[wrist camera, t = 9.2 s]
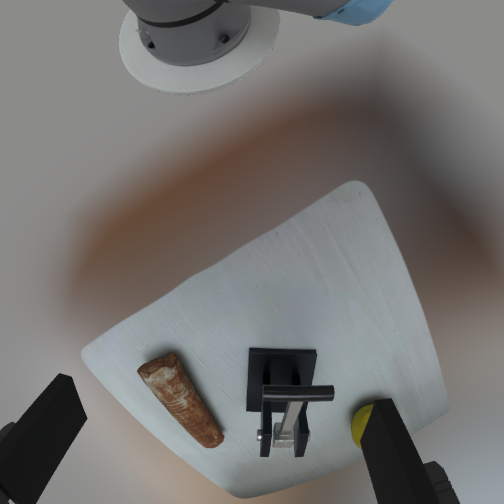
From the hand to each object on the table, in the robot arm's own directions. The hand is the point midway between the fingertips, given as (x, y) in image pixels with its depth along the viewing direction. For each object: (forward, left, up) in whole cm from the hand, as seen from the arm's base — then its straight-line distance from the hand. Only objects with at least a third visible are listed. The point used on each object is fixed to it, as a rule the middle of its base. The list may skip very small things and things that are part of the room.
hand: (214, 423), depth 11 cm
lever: (+12, +5, -14) cm, 20 cm away
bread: (+22, -7, -26) cm, 35 cm away
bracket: (+18, +5, -26) cm, 32 cm away
